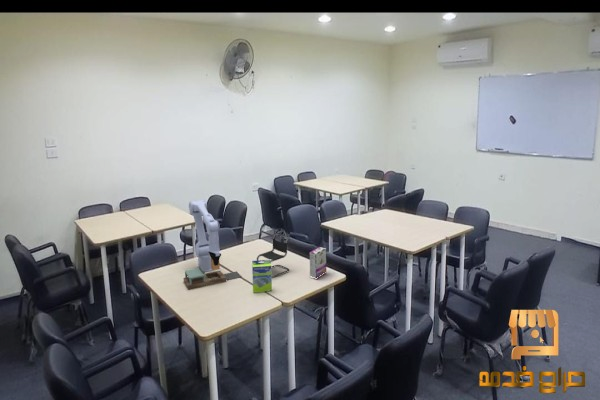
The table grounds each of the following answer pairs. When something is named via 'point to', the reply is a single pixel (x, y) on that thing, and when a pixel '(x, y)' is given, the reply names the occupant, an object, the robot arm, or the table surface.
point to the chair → (280, 247)
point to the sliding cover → (195, 273)
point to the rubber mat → (232, 275)
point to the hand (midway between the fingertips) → (215, 263)
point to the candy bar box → (317, 262)
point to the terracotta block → (214, 265)
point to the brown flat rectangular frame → (200, 280)
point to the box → (262, 276)
